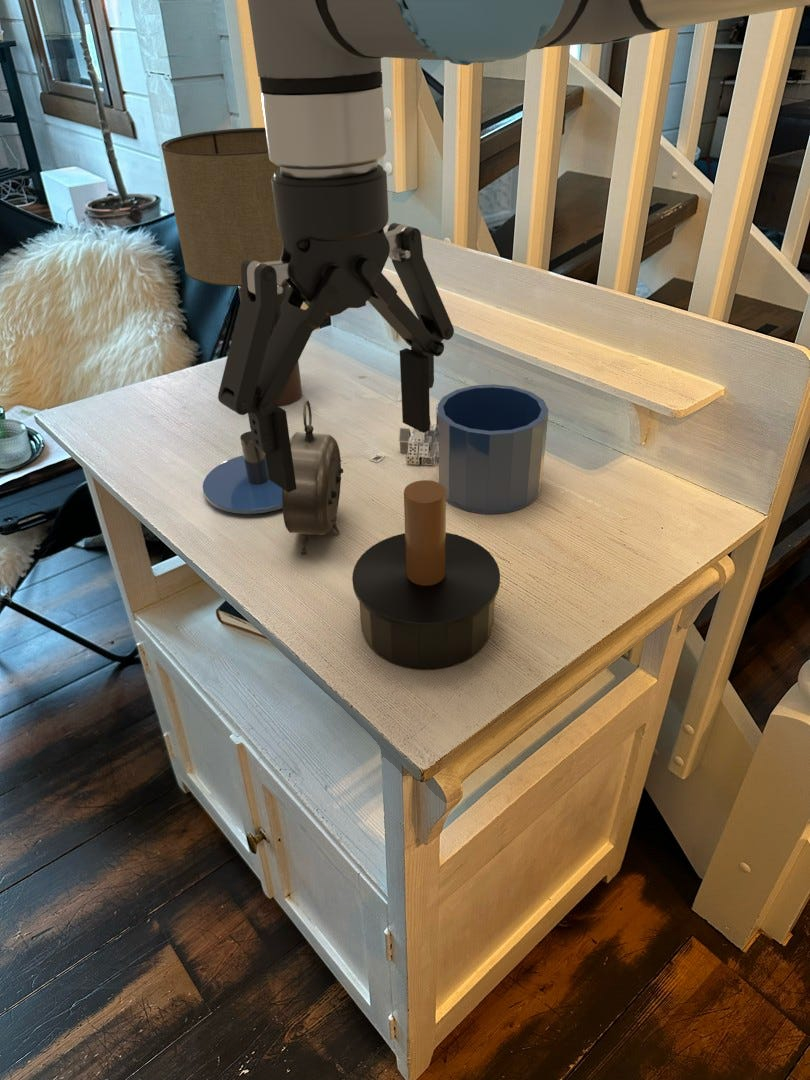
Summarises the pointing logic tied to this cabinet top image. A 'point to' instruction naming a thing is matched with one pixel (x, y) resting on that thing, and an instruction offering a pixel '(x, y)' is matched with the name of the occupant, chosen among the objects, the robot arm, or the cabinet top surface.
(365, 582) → the lid
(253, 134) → the lamp
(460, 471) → the pot
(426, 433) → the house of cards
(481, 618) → the pan
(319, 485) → the alarm clock
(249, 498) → the pot lid
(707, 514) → the cabinet top surface
